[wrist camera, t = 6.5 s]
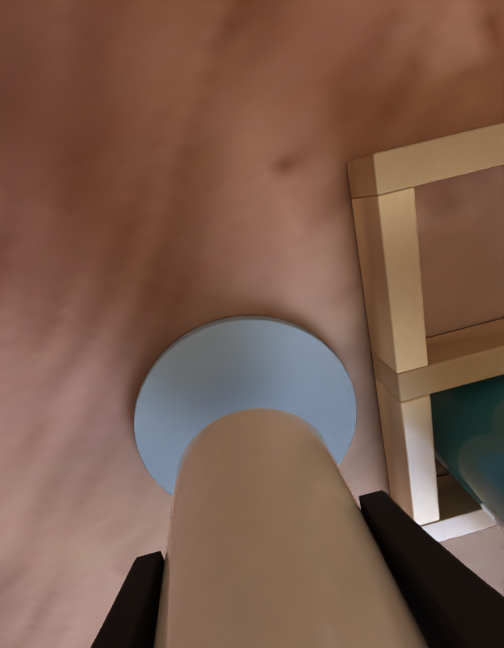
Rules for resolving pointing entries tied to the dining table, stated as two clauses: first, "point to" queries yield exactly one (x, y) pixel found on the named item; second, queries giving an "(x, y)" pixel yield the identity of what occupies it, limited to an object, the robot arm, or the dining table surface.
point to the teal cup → (473, 440)
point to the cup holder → (418, 322)
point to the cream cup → (273, 547)
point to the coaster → (239, 387)
